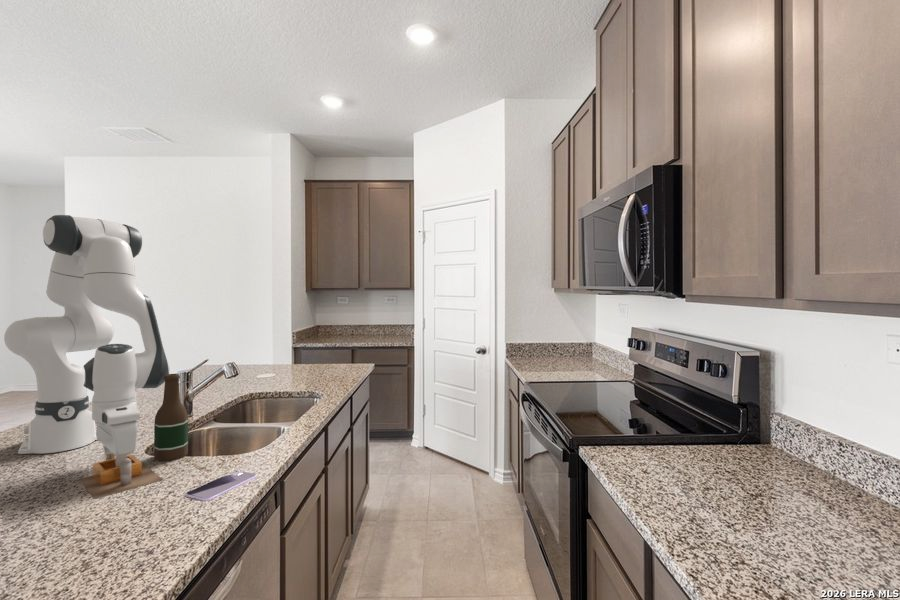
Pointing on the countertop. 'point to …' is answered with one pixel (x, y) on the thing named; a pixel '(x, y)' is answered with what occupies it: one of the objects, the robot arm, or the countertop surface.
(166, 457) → the beer bottle
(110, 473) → the orange hollow square frame
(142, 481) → the board
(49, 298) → the robot arm
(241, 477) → the mobile phone
